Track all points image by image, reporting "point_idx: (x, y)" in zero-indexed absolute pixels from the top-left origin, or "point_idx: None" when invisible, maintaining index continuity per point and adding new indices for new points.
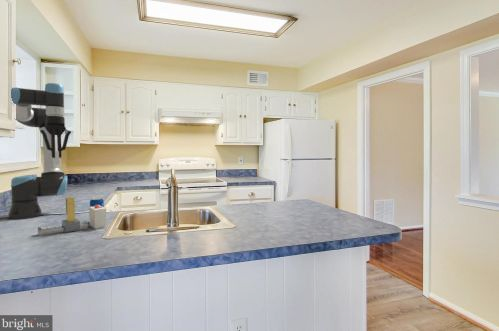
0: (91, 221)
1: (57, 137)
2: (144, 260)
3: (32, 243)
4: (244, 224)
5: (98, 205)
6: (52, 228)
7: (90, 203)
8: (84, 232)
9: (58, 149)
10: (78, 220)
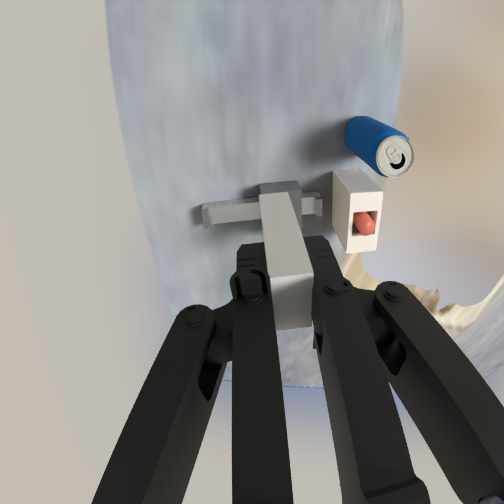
0: (336, 196)
1: (353, 494)
2: (319, 384)
3: (201, 273)
4: (481, 320)
5: (367, 233)
6: (235, 213)
7: (367, 157)
8: None
9: (315, 340)
10: (301, 222)
